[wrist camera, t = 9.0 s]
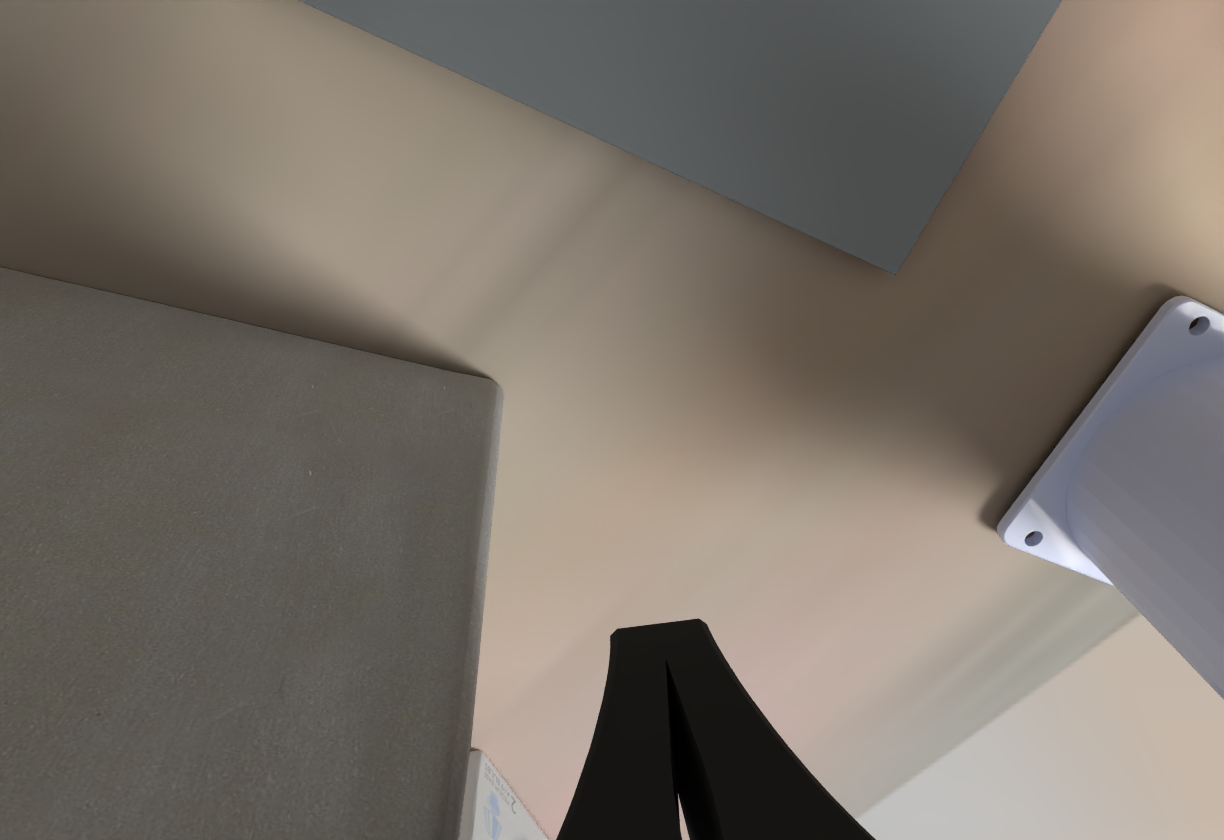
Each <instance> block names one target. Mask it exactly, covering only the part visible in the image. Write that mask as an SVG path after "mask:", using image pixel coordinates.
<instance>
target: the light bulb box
mask: <svg viewBox="0 0 1224 840" xmlns="http://www.w3.org/2000/svg"><path fill="white" fill-rule="evenodd" d="M458 840H548V839H547V837H546V836H545V834H544V833H543V832H542V830H541V829H540V827H539V826H538V825H537V823H536V822H535V821H534V819H533V818H532V817H531V815H530V814H529V813H528V811H527V810H526V809H525V807H524V806H523V805H522V803H521V802H520V801H519V799H518V798H517V797H516V795H515V794H514V793H513V791H512V790H511V788H510V787H509V786H508V784H507V783H506V782H505V780H504V779H503V778H502V776H501V775H500V774H499V772H498V771H497V770H496V768H495V767H494V766H493V764H492V763H491V762H490V760H489V759H488V758H487V756H486V755H485V754H484V753H483V752H482V751H480V750H475V751H471V752H470V756H469V764H468V771H467V779H466V786H465V793H464V801H463V808H462V816H461V823H460V830H459V838H458Z"/></svg>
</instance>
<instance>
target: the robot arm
mask: <svg viewBox="0 0 1224 840" xmlns="http://www.w3.org/2000/svg"><path fill="white" fill-rule="evenodd" d="M1198 317H1199V320H1198V322H1197V324H1196V325H1195V326H1194V327H1193V328H1192V329H1189V326H1190V324H1191V322H1192V321H1193V320H1195V319H1196V318H1198ZM1034 531H1035V533H1034V534H1033V535H1032V536H1031V537H1029V538H1026V536H1027V535H1028V534H1029V533H1031V532H1034ZM997 533H998V535H999V537H1000V538H1001V540H1002V541H1003V542H1004V543H1005V544H1007V545H1008V546H1010V547H1013V548H1015V549H1018V550H1021V551H1023V552H1026V553H1028V554H1031V555H1034V556H1036V557H1039V558H1042V559H1044V560H1047V561H1049V562H1052V563H1055V564H1057V565H1060V566H1062V567H1065V568H1068V569H1070V570H1073V571H1076V572H1078V573H1081V574H1083V575H1086V576H1089V577H1091V578H1094V579H1097V580H1099V581H1102V582H1104V583H1107V584H1110V585H1112V586H1115V587H1116V588H1117V589H1118V590H1119V591H1120V592H1121V593H1122V594H1123V595H1124V596H1125V597H1126V598H1127V599H1128V600H1129V601H1130V602H1131V603H1132V604H1133V605H1134V606H1135V607H1136V609H1137V610H1138V611H1139V612H1140V613H1141V614H1142V615H1143V616H1144V617H1145V618H1146V619H1147V620H1148V621H1149V622H1150V623H1151V624H1152V625H1153V626H1154V627H1155V628H1156V629H1157V630H1158V631H1159V633H1161V635H1162V636H1163V637H1164V638H1165V639H1166V640H1167V641H1168V642H1169V643H1170V644H1171V645H1172V646H1173V647H1174V648H1175V649H1176V650H1177V651H1178V652H1179V653H1180V654H1181V656H1182V657H1183V658H1184V659H1185V660H1186V661H1187V662H1188V663H1189V664H1190V665H1191V666H1192V667H1193V668H1194V669H1195V670H1196V671H1197V672H1198V673H1199V674H1200V675H1201V676H1202V677H1203V678H1204V680H1206V682H1207V683H1208V684H1209V685H1210V686H1211V687H1212V688H1213V689H1214V690H1215V691H1216V692H1217V693H1218V694H1219V695H1220V696H1221V697H1222V698H1223V699H1224V314H1222V313H1220V312H1218V311H1216V310H1214V309H1212V308H1210V307H1208V306H1206V305H1204V304H1202V303H1200V302H1198V301H1196V300H1194V299H1192V298H1190V297H1186V296H1177V297H1173V298H1171V299H1170V300H1168V301H1166V302H1165V303H1164V304H1163V305H1162V306H1161V308H1160V309H1159V310H1158V312H1157V313H1156V314H1155V316H1154V317H1153V318H1152V320H1151V321H1150V322H1149V324H1148V325H1147V326H1146V328H1145V329H1144V330H1143V332H1142V333H1141V334H1140V336H1139V337H1138V338H1137V340H1136V341H1135V342H1134V343H1133V345H1132V346H1131V347H1130V349H1129V350H1128V351H1127V353H1126V354H1125V355H1124V357H1123V358H1122V359H1121V361H1120V362H1119V363H1118V365H1117V366H1116V367H1115V369H1114V370H1113V371H1112V373H1111V374H1110V375H1109V377H1108V378H1107V379H1106V381H1105V382H1104V383H1103V385H1102V386H1101V387H1100V389H1099V390H1098V391H1097V393H1096V394H1095V395H1094V397H1093V398H1092V399H1091V401H1090V402H1089V403H1088V405H1087V406H1086V407H1085V409H1084V410H1083V411H1082V413H1081V414H1080V415H1079V417H1078V418H1077V419H1076V421H1075V422H1074V423H1073V425H1072V426H1071V427H1070V429H1069V430H1068V431H1067V433H1066V434H1065V435H1064V437H1063V438H1062V439H1061V441H1060V442H1059V443H1058V445H1057V446H1056V447H1055V449H1054V450H1053V451H1052V453H1051V454H1050V455H1049V457H1048V458H1047V459H1046V461H1045V462H1044V463H1043V465H1042V466H1041V467H1040V469H1039V470H1038V471H1037V473H1036V474H1035V475H1034V477H1033V478H1032V479H1031V481H1030V482H1029V483H1028V485H1027V486H1026V487H1025V489H1024V490H1023V491H1022V493H1021V494H1020V495H1019V497H1018V498H1017V499H1016V501H1015V502H1014V503H1013V505H1012V506H1011V507H1010V509H1009V510H1008V511H1007V513H1006V514H1005V515H1004V517H1003V518H1002V519H1001V521H1000V522H999V524H998V526H997ZM1025 538H1026V539H1025ZM678 795H679V799H680V803H681V807H682V810H683V814H684V818H685V822H686V826H687V830H688V834H689V838H690V840H876V839H875V838H873V837H872V836H871V835H870V834H869V833H868V832H867V831H866V830H865V829H864V828H863V827H862V826H861V825H860V824H859V823H858V822H857V821H856V820H855V819H854V818H853V817H852V816H851V815H850V814H849V813H848V812H847V811H846V810H845V809H844V808H843V807H842V806H841V805H840V804H839V803H838V802H837V801H836V800H835V799H834V798H833V797H832V796H831V795H830V793H829V792H828V791H827V790H826V789H825V788H824V787H823V786H822V785H821V784H820V783H819V781H818V780H817V779H816V778H815V777H814V776H813V775H812V774H811V773H810V771H809V770H808V769H807V768H806V767H805V766H804V764H803V763H802V762H801V761H800V760H799V758H798V757H797V756H796V755H795V754H794V753H793V751H792V750H791V749H790V748H789V747H788V745H787V744H786V743H785V742H784V740H783V739H782V738H781V737H780V735H779V734H778V733H777V732H776V730H775V729H774V728H773V727H772V725H771V724H770V722H769V721H768V720H767V718H766V717H765V716H764V714H763V713H762V712H761V710H760V709H759V708H758V706H757V705H756V704H755V702H754V701H753V700H752V698H751V697H750V696H749V694H748V693H747V691H746V690H745V688H744V687H743V685H742V684H741V683H740V681H739V679H738V678H737V676H736V675H735V673H734V672H733V670H732V669H731V667H730V666H729V664H728V662H727V661H726V659H725V657H724V656H723V654H722V652H721V651H720V649H719V647H718V646H717V644H716V642H715V640H714V638H713V636H712V634H711V632H710V630H709V628H708V626H707V624H706V623H704V622H703V621H702V620H700V619H692V620H684V621H676V622H668V623H660V624H652V625H644V626H636V627H628V628H620V629H617V630H616V631H615V632H614V633H613V634H612V635H611V636H610V660H609V668H608V675H607V681H606V686H605V691H604V696H603V701H602V705H601V708H600V712H599V716H598V720H597V724H596V728H595V732H594V735H593V739H592V743H591V746H590V749H589V753H588V755H587V758H586V761H585V764H584V767H583V770H582V773H581V776H580V779H579V782H578V785H577V788H576V791H575V794H574V797H573V799H572V802H571V805H570V807H569V810H568V812H567V815H566V817H565V820H564V822H563V825H562V827H561V830H560V832H559V834H558V837H557V839H556V840H682V837H681V832H680V819H679V804H678Z"/></svg>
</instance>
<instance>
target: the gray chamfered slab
mask: <svg viewBox="0 0 1224 840" xmlns="http://www.w3.org/2000/svg"><path fill="white" fill-rule="evenodd" d="M503 400H504V394H503V389H502V388H501V387H500V386H499V385H498V384H497V383H496V382H495V381H493V380H491V379H487V378H483V377H478V376H473V375H467V374H462V373H457V372H452V371H448V370H443V369H439V368H435V367H430V366H426V365H422V364H417V363H413V362H409V361H405V360H400V359H396V358H392V357H387V356H383V355H379V354H374V353H370V352H366V351H361V350H357V349H353V348H348V347H344V346H340V345H336V344H331V343H327V342H323V341H318V340H314V339H310V338H305V337H301V336H297V335H293V334H288V333H284V332H280V331H275V330H271V329H267V328H263V327H258V326H254V325H250V324H246V323H241V322H237V321H233V320H229V319H224V318H220V317H216V316H211V315H207V314H203V313H198V312H194V311H190V310H185V309H181V308H177V307H172V306H168V305H164V304H159V303H155V302H151V301H146V300H142V299H138V298H133V297H129V296H125V295H120V294H116V293H112V292H107V291H103V290H98V289H94V288H89V287H85V286H81V285H76V284H72V283H67V282H63V281H59V280H54V279H50V278H45V277H41V276H37V275H32V274H28V273H24V272H19V271H15V270H10V269H6V268H2V267H0V840H458V838H459V830H460V823H461V816H462V808H463V801H464V793H465V786H466V779H467V771H468V764H469V756H470V747H471V737H472V726H473V716H474V705H475V695H476V684H477V674H478V663H479V653H480V642H481V631H482V621H483V610H484V600H485V589H486V579H487V568H488V558H489V547H490V537H491V526H492V515H493V505H494V494H495V484H496V473H497V463H498V452H499V442H500V431H501V421H502V410H503Z"/></svg>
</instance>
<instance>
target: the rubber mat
mask: <svg viewBox="0 0 1224 840" xmlns="http://www.w3.org/2000/svg"><path fill="white" fill-rule="evenodd" d="M299 1H302V2H304V3H306V4H308V5H310V6H312V7H315V8H317V9H319V10H321V11H323V12H325V13H328V14H330V15H332V16H334V17H336V18H338V19H341V20H343V21H345V22H347V23H349V24H351V25H354V26H356V27H358V28H360V29H362V30H364V31H367V32H369V33H371V34H373V35H375V36H377V37H380V38H382V39H384V40H386V41H388V42H390V43H393V44H395V45H397V46H399V47H401V48H404V49H406V50H408V51H410V52H412V53H414V54H417V55H419V56H421V57H423V58H425V59H427V60H430V61H432V62H434V63H436V64H438V65H440V66H443V67H445V68H447V69H449V70H451V71H453V72H456V73H458V74H460V75H462V76H464V77H466V78H469V79H471V80H473V81H475V82H477V83H479V84H482V85H484V86H486V87H488V88H490V89H492V90H495V91H497V92H499V93H501V94H503V95H506V96H508V97H510V98H512V99H514V100H516V101H519V102H521V103H523V104H525V105H527V106H529V107H532V108H534V109H536V110H538V111H540V112H542V113H545V114H547V115H549V116H551V117H553V118H555V119H558V120H560V121H562V122H564V123H566V124H568V125H571V126H573V127H575V128H577V129H579V130H581V131H584V132H586V133H588V134H590V135H592V136H594V137H597V138H599V139H601V140H603V141H605V142H607V143H610V144H612V145H614V146H616V147H618V148H621V149H623V150H625V151H627V152H629V153H631V154H634V155H636V156H638V157H640V158H642V159H644V160H647V161H649V162H651V163H653V164H655V165H657V166H660V167H662V168H664V169H666V170H668V171H670V172H673V173H675V174H677V175H679V176H681V177H683V178H686V179H688V180H690V181H692V182H694V183H696V184H699V185H701V186H703V187H705V188H707V189H709V190H712V191H714V192H716V193H718V194H720V195H723V196H725V197H727V198H729V199H731V200H733V201H736V202H738V203H740V204H742V205H744V206H746V207H749V208H751V209H753V210H755V211H757V212H759V213H762V214H764V215H766V216H768V217H770V218H772V219H775V220H777V221H779V222H781V223H783V224H785V225H788V226H790V227H792V228H794V229H796V230H798V231H801V232H803V233H805V234H807V235H809V236H811V237H814V238H816V239H818V240H820V241H822V242H825V243H827V244H829V245H831V246H833V247H835V248H838V249H840V250H842V251H844V252H846V253H848V254H851V255H853V256H855V257H857V258H859V259H861V260H864V261H866V262H868V263H870V264H872V265H874V266H877V267H879V268H881V269H883V270H885V271H887V272H890V273H892V274H894V275H896V273H897V272H898V270H899V269H900V267H901V265H902V264H903V262H904V260H905V259H906V257H907V255H908V254H909V252H910V250H911V249H912V247H913V245H914V244H915V242H916V240H917V239H918V237H919V235H920V234H921V232H922V231H923V229H924V227H925V226H926V224H927V222H928V221H929V219H930V217H931V216H932V214H933V212H934V211H935V209H936V207H937V206H938V204H939V202H940V201H941V199H942V198H943V196H944V194H945V193H946V191H947V189H948V188H949V186H950V184H951V183H952V181H953V179H954V178H955V176H956V174H957V173H958V171H959V169H960V168H961V166H962V164H963V163H964V161H965V160H966V158H967V156H968V155H969V153H970V151H971V150H972V148H973V146H974V145H975V143H976V141H977V140H978V138H979V136H980V135H981V133H982V131H983V130H984V128H985V126H986V125H987V123H988V122H989V120H990V118H991V117H992V115H993V113H994V112H995V110H996V108H997V107H998V105H999V103H1000V102H1001V100H1002V98H1003V97H1004V95H1005V93H1006V92H1007V90H1008V88H1009V87H1010V85H1011V84H1012V82H1013V80H1014V79H1015V77H1016V75H1017V74H1018V72H1019V70H1020V69H1021V67H1022V65H1023V64H1024V62H1025V60H1026V59H1027V57H1028V55H1029V54H1030V52H1031V51H1032V49H1033V47H1034V46H1035V44H1036V42H1037V41H1038V39H1039V37H1040V36H1041V34H1042V32H1043V31H1044V29H1045V27H1046V26H1047V24H1048V22H1049V21H1050V19H1051V17H1052V16H1053V14H1054V13H1055V11H1056V9H1057V8H1058V6H1059V4H1060V3H1061V1H1062V0H299Z"/></svg>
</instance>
